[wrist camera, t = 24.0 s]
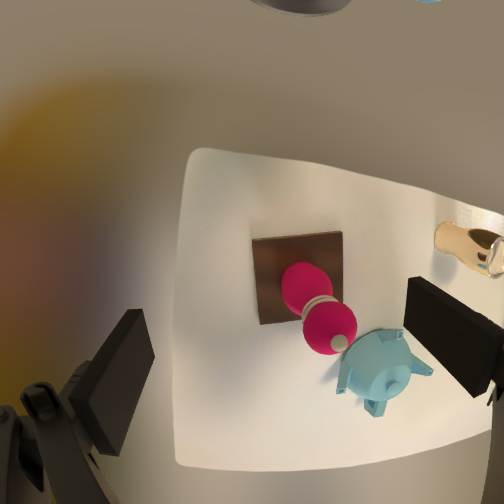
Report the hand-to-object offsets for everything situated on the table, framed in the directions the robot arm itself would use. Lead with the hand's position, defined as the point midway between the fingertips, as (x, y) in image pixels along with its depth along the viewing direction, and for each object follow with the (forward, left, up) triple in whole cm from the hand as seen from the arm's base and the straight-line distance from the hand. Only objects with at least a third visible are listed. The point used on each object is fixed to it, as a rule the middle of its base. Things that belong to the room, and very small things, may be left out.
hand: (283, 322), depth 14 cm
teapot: (+28, +21, -33) cm, 48 cm away
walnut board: (+10, +7, -33) cm, 35 cm away
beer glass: (+6, +36, -33) cm, 49 cm away
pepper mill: (+10, +7, -32) cm, 34 cm away
